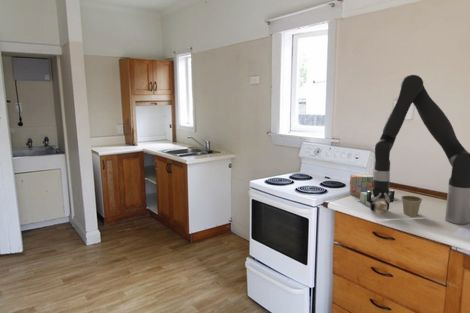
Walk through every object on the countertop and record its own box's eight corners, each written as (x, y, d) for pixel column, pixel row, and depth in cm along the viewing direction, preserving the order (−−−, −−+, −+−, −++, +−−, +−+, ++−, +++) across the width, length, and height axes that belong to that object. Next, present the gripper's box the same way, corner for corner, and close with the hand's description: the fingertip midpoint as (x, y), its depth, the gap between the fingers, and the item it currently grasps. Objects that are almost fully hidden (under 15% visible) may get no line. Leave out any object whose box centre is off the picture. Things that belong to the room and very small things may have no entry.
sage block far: (368, 200, 190) (368, 191, 189) (372, 203, 185) (373, 194, 184) (360, 200, 190) (360, 192, 189) (364, 203, 185) (364, 194, 184)
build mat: (374, 201, 191) (374, 200, 190) (385, 207, 179) (385, 206, 179) (357, 201, 189) (357, 200, 189) (367, 208, 178) (368, 207, 178)
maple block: (381, 210, 175) (381, 201, 174) (386, 213, 170) (387, 204, 169) (372, 210, 174) (372, 201, 173) (377, 214, 169) (377, 204, 169)
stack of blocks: (386, 195, 202) (387, 175, 200) (388, 198, 196) (390, 177, 194) (349, 193, 207) (350, 173, 205) (350, 196, 201) (351, 176, 199)
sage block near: (374, 203, 184) (374, 195, 183) (379, 206, 179) (379, 197, 178) (365, 204, 183) (366, 195, 182) (370, 207, 178) (370, 198, 177)
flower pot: (409, 219, 162) (411, 201, 160) (395, 212, 171) (396, 196, 169) (425, 217, 164) (427, 200, 163) (410, 211, 173) (412, 194, 172)
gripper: (371, 181, 165) (369, 213, 168) (399, 180, 166) (396, 212, 169) (364, 177, 172) (362, 208, 175) (390, 176, 174) (388, 207, 176)
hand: (379, 210), depth 172 cm, fingers open, 7 cm apart
